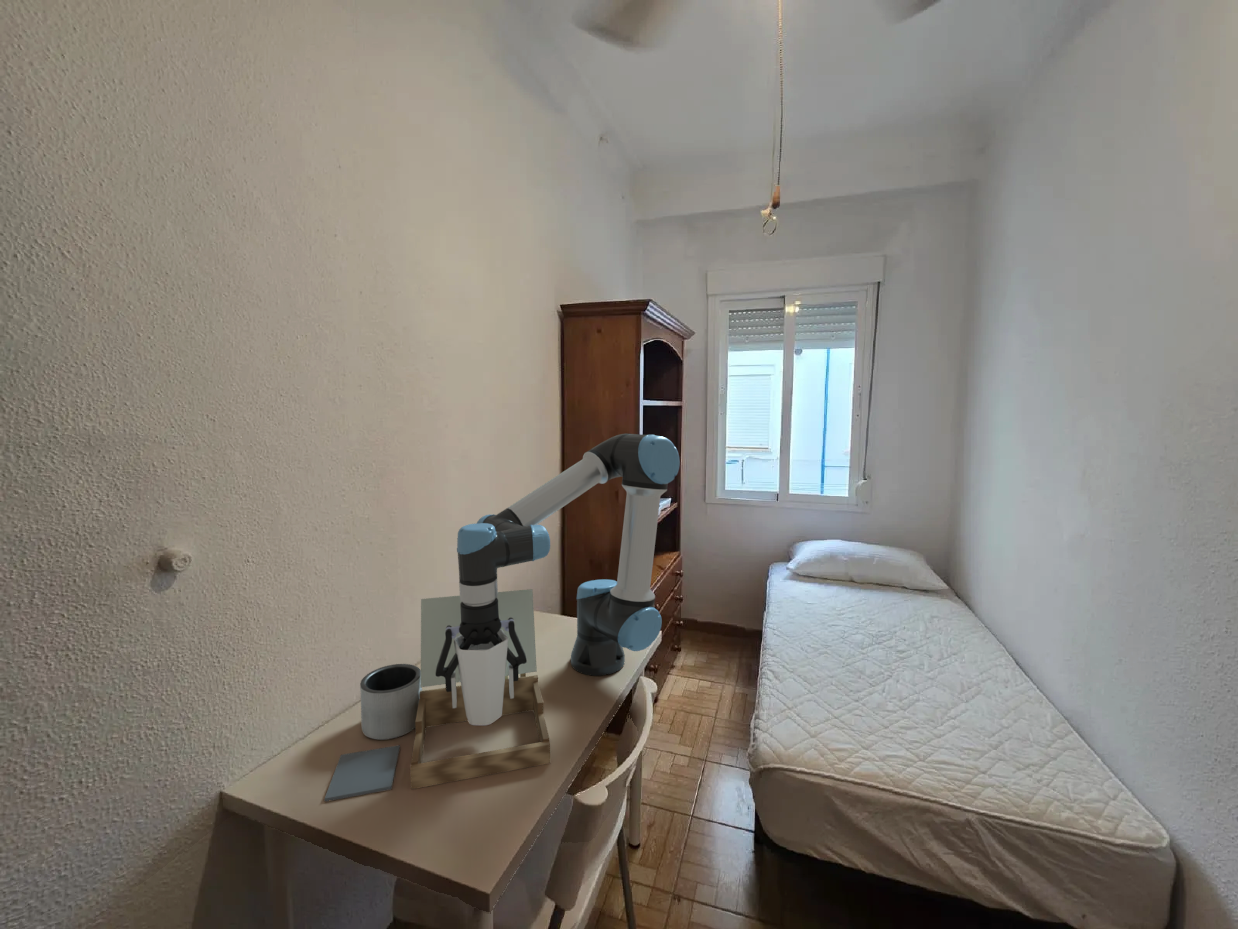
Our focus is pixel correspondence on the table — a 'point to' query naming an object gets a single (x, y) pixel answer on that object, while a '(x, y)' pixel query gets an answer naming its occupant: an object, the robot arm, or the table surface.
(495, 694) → the cup
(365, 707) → the planter
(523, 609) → the lid
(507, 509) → the robot arm
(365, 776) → the mat
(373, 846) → the table surface
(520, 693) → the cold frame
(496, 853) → the table surface
